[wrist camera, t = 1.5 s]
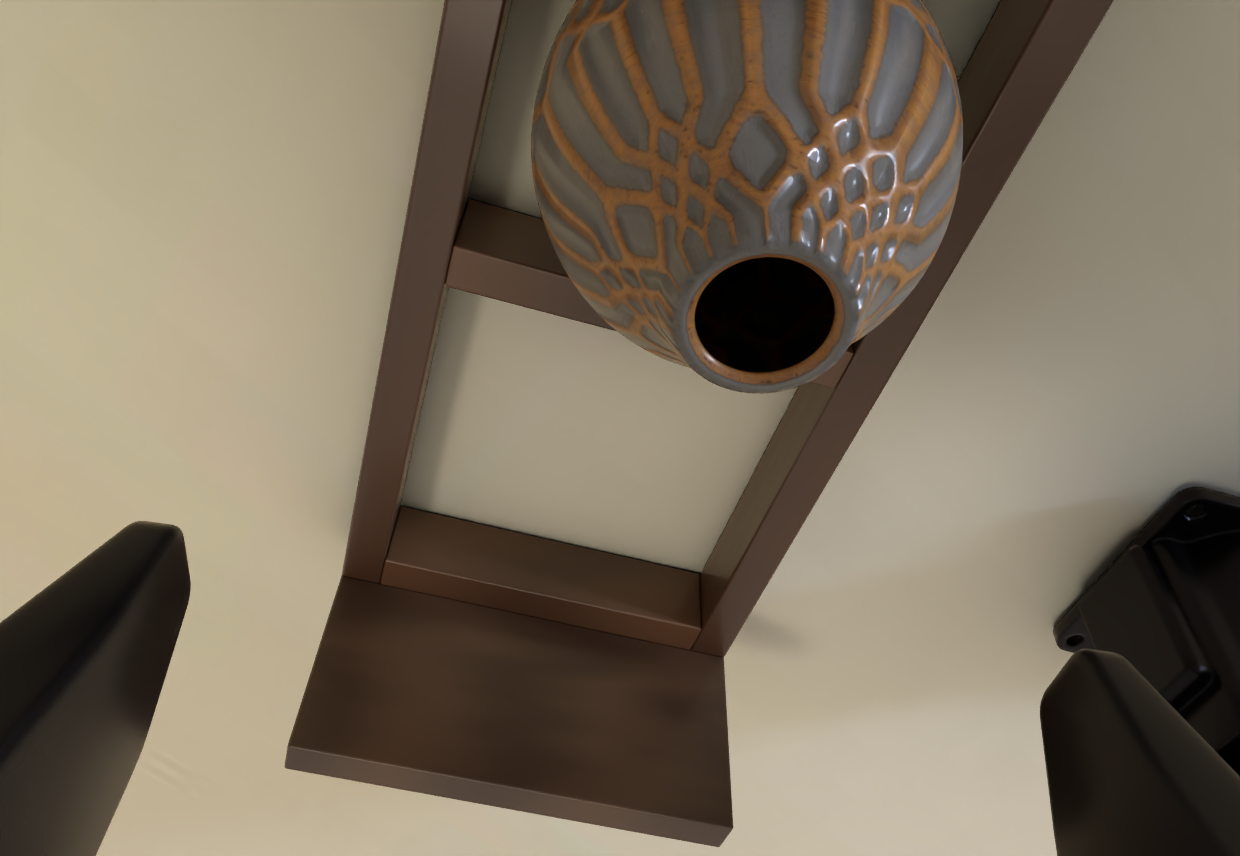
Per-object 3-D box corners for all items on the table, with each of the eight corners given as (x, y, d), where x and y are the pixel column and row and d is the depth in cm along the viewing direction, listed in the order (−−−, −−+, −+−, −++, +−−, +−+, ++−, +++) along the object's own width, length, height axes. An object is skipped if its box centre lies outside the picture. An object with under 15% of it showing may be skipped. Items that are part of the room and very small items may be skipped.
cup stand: (1136, -142, 17) (1349, -8, 12) (709, 623, 30) (719, 848, 25) (523, -369, 16) (451, -335, 10) (354, 545, 29) (283, 768, 23)
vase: (476, 53, 20) (380, 306, 13) (760, -234, 17) (829, -97, 10) (707, 281, 23) (726, 579, 16) (982, 77, 20) (1148, 341, 13)
